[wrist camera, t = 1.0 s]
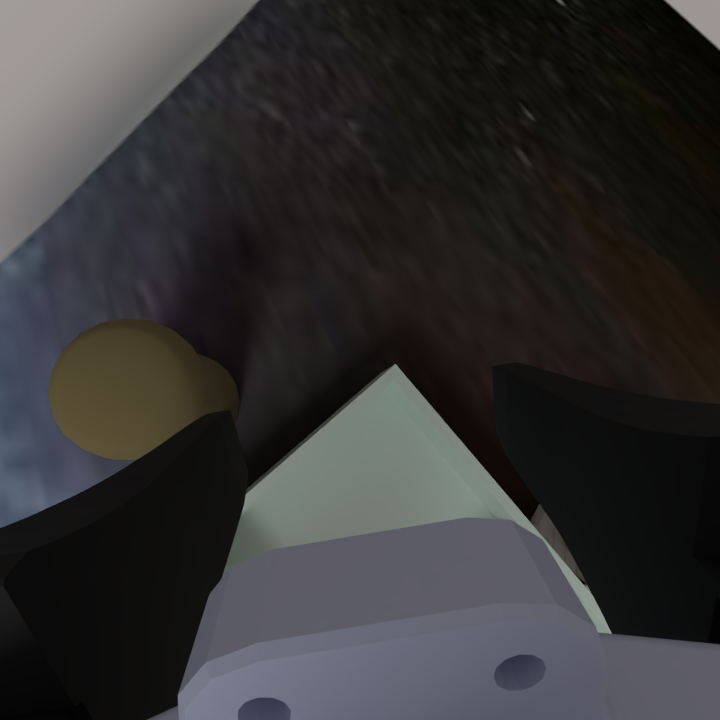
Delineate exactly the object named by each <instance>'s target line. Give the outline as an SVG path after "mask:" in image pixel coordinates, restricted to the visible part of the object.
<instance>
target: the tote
mask: <svg viewBox="0 0 720 720" xmlns="http://www.w3.org/2000/svg"><path fill="white" fill-rule="evenodd" d="M466 517H468V518H488V519H508V520H512V521H514V522H515V523H517V524H518V525H520V526H522V527H523V528H525V529H527V530H528V531H530V532H531V533H533V534H535V535H536V536H538V537H539V538H541V539H543V541H544V542H545V544H546V546H547V547H548V549H549V551H550V552H551V554H552V555H553V557H554V559H555V560H556V562H557V564H558V565H559V567H560V569H561V570H562V572H563V574H564V575H565V577H566V578H567V580H568V582H569V583H570V585H571V587H572V588H573V590H574V592H575V593H576V595H577V597H578V598H579V600H580V601H581V603H582V605H583V606H584V608H585V610H586V611H587V613H588V615H589V616H590V618H591V620H592V621H593V623H594V624H595V626H596V628H597V631H598V632H599V633H609V634H612V633H611V631H610V629H609V627H608V625H607V623H606V621H605V619H604V616H603V614H602V612H601V610H600V608H599V607H598V605H597V603H596V601H595V599H594V597H593V595H592V594H591V593H590V592H589V591H588V590H587V588H586V587H585V586H584V585H583V584H582V582H581V581H580V580H579V579H578V578H577V577H576V575H575V574H574V573H573V572H572V571H571V570H570V568H569V567H568V566H567V565H566V564H565V562H564V561H563V560H562V559H561V558H560V557H559V555H558V554H557V553H556V552H555V551H554V550H553V548H552V547H551V546H550V545H549V544H548V543H547V541H546V540H545V539H544V538H543V537H542V535H541V534H540V533H539V532H538V531H537V530H536V528H535V527H534V526H533V525H532V524H531V523H530V521H529V520H528V519H527V518H526V517H525V516H524V514H523V513H522V512H521V511H520V510H519V508H518V507H517V506H516V505H515V504H514V503H513V501H512V500H511V499H510V498H509V497H508V496H507V494H506V493H505V492H504V491H503V490H502V488H501V487H500V486H499V485H498V484H497V483H496V481H495V480H494V479H493V478H492V477H491V476H490V474H489V473H488V472H487V471H486V470H485V469H484V467H483V466H482V465H481V464H480V463H479V461H478V460H477V459H476V458H475V457H474V456H473V454H472V453H471V452H470V451H469V450H468V449H467V447H466V446H465V445H464V444H463V443H462V441H461V440H460V439H459V438H458V437H457V436H456V434H455V433H454V432H453V431H452V430H451V429H450V427H449V426H448V425H447V424H446V423H445V422H444V420H443V419H442V418H441V417H440V416H439V414H438V413H437V412H436V411H435V410H434V409H433V407H432V406H431V405H430V404H429V403H428V402H427V400H426V399H425V398H424V397H423V396H422V395H421V393H420V392H419V391H418V390H417V389H416V387H415V386H414V385H413V384H412V383H411V382H410V380H409V379H408V378H407V377H406V376H405V375H404V373H403V372H402V371H401V370H400V369H399V367H398V366H397V365H396V364H395V365H393V366H391V367H390V368H388V369H386V370H385V371H383V372H382V373H380V374H379V375H377V376H376V377H375V378H374V379H373V380H372V381H371V382H369V383H368V384H367V385H366V386H365V387H364V388H362V389H361V390H360V391H359V392H358V393H357V394H356V395H354V396H353V397H352V398H351V399H350V400H349V401H347V402H346V403H345V404H344V405H343V406H342V407H341V408H339V409H338V410H337V411H336V412H335V413H334V414H333V415H331V416H330V417H329V418H328V419H327V420H326V421H324V422H323V423H322V424H321V425H320V426H319V427H318V428H316V429H315V430H314V431H313V432H312V433H311V434H309V435H308V436H307V437H306V438H305V439H304V440H303V441H301V442H300V443H299V444H298V445H297V446H296V447H294V448H293V449H292V450H291V451H290V452H289V453H288V454H286V455H285V456H284V457H283V458H282V459H281V460H279V461H278V462H277V463H276V464H275V465H274V466H273V467H271V468H270V469H269V470H268V471H267V472H266V473H265V474H263V475H262V476H261V477H260V478H259V479H258V480H256V481H255V482H254V483H253V484H252V485H251V486H250V487H248V488H247V490H246V496H245V502H244V507H243V510H242V514H241V517H240V521H239V524H238V527H237V531H236V534H235V537H234V540H233V544H232V547H231V550H230V553H229V556H228V560H227V563H226V566H225V569H224V573H223V576H222V578H223V577H224V575H225V574H226V573H227V572H228V570H229V569H230V568H231V567H232V565H235V564H237V563H240V562H242V561H245V560H247V559H250V558H252V557H255V556H258V555H260V554H263V553H265V552H268V551H270V550H273V549H278V548H284V547H290V546H296V545H302V544H308V543H314V542H320V541H326V540H332V539H338V538H344V537H350V536H357V535H363V534H369V533H375V532H381V531H387V530H393V529H399V528H405V527H411V526H417V525H423V524H429V523H435V522H441V521H447V520H453V519H460V518H466Z"/></svg>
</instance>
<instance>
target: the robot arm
mask: <svg viewBox="0 0 720 720" xmlns="http://www.w3.org/2000/svg"><path fill="white" fill-rule="evenodd" d="M492 368H493V388H494V407H495V427H496V434H497V436H498V438H499V440H500V442H501V444H502V446H503V449H504V451H505V452H506V454H507V456H508V458H509V460H510V462H511V463H512V465H513V466H514V468H515V469H516V471H517V472H518V474H519V475H520V477H521V478H522V480H523V481H524V483H525V484H526V485H527V487H528V488H529V490H530V491H531V493H532V494H533V495H534V497H535V498H536V500H537V501H538V503H539V504H540V505H541V507H542V508H543V510H544V511H545V513H546V514H547V516H548V517H549V518H550V520H551V521H552V523H553V524H554V526H555V527H556V529H557V531H558V532H559V534H560V535H561V537H562V539H563V540H564V542H565V544H566V546H567V548H568V549H569V551H570V553H571V555H572V557H573V559H574V561H575V562H576V564H577V566H578V568H579V570H580V572H581V573H582V575H583V577H584V579H585V581H586V583H587V585H588V587H589V589H590V591H591V593H592V595H593V597H594V599H595V601H596V603H597V605H598V607H599V608H600V610H601V612H602V614H603V616H604V619H605V621H606V623H607V625H608V627H609V629H610V631H611V633H612V634H609V633H599V632H598V631H597V628H596V626H595V624H594V623H593V621H592V620H591V618H590V616H589V615H588V613H587V611H586V610H585V608H584V606H583V605H582V603H581V601H580V600H579V598H578V597H577V595H576V593H575V592H574V590H573V588H572V587H571V585H570V583H569V582H568V580H567V578H566V577H565V575H564V574H563V572H562V570H561V569H560V567H559V565H558V564H557V562H556V560H555V559H554V557H553V555H552V554H551V552H550V551H549V549H548V547H547V546H546V544H545V542H544V541H543V539H541V538H539V537H538V536H536V535H535V534H533V533H531V532H530V531H528V530H527V529H525V528H523V527H522V526H520V525H518V524H517V523H515V522H514V521H512V520H508V519H488V518H468V517H466V518H460V519H453V520H447V521H441V522H435V523H429V524H423V525H417V526H411V527H405V528H399V529H393V530H387V531H381V532H375V533H369V534H363V535H357V536H350V537H344V538H338V539H332V540H326V541H320V542H314V543H308V544H302V545H296V546H290V547H284V548H278V549H273V550H270V551H268V552H265V553H263V554H260V555H258V556H255V557H252V558H250V559H247V560H245V561H242V562H240V563H237V564H235V565H232V567H231V568H230V569H229V570H228V572H227V573H226V574H225V575H224V577H223V578H222V576H223V573H224V569H225V566H226V563H227V560H228V556H229V553H230V550H231V547H232V544H233V540H234V537H235V534H236V531H237V527H238V524H239V521H240V517H241V514H242V510H243V507H244V502H245V496H246V490H247V482H248V474H249V472H248V469H247V466H246V462H245V459H244V455H243V452H242V448H241V445H240V442H239V438H238V435H237V431H236V428H235V425H234V421H233V418H232V414H231V411H230V410H226V411H220V412H214V413H208V414H206V415H204V416H202V417H200V418H198V419H197V420H195V421H194V422H192V423H191V424H189V425H188V426H186V427H185V428H183V429H182V430H180V431H179V432H177V433H176V434H175V435H173V436H172V437H170V438H169V439H167V440H166V441H165V442H163V443H162V444H160V445H159V446H157V447H156V448H155V449H153V450H152V451H150V452H148V453H147V454H145V455H144V456H142V457H141V458H139V459H138V460H136V461H135V462H133V463H132V464H130V465H129V466H127V467H125V468H124V469H122V470H121V471H119V472H117V473H116V474H114V475H112V476H110V477H109V478H107V479H105V480H103V481H102V482H100V483H98V484H96V485H94V486H92V487H90V488H89V489H87V490H85V491H83V492H81V493H79V494H77V495H75V496H73V497H71V498H69V499H66V500H64V501H62V502H60V503H58V504H56V505H54V506H51V507H49V508H47V509H45V510H43V511H41V512H39V513H36V514H34V515H32V516H30V517H27V518H25V519H22V520H20V521H17V522H15V523H12V524H10V525H8V526H5V527H2V528H0V720H720V404H710V403H700V402H690V401H680V400H672V399H665V398H658V397H652V396H646V395H641V394H635V393H629V392H625V391H620V390H615V389H611V388H607V387H603V386H599V385H595V384H591V383H587V382H584V381H580V380H577V379H573V378H570V377H567V376H563V375H560V374H557V373H553V372H550V371H547V370H544V369H540V368H537V367H533V366H530V365H526V364H521V363H510V364H504V365H498V366H492Z"/></svg>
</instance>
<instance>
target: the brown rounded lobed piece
mask: <svg viewBox="0 0 720 720" xmlns="http://www.w3.org/2000/svg"><path fill="white" fill-rule="evenodd" d="M48 396H49V402H50V407H51V413H52V416H53V417H54V419H55V421H56V422H57V424H58V426H59V427H60V429H61V431H62V432H63V434H64V435H66V436H67V437H68V438H69V439H71V440H72V441H73V442H74V443H75V444H77V445H78V446H79V447H80V448H82V449H83V450H85V451H87V452H90V453H93V454H96V455H98V456H101V457H104V458H107V459H121V460H135V459H139V458H141V457H142V456H144V455H145V454H147V453H148V452H150V451H152V450H153V449H155V448H156V447H157V446H159V445H160V444H162V443H163V442H165V441H166V440H167V439H169V438H170V437H172V436H173V435H175V434H176V433H177V432H179V431H180V430H182V429H183V428H185V427H186V426H188V425H189V424H191V423H192V422H194V421H195V420H197V419H198V418H200V417H202V416H204V415H206V414H208V413H214V412H220V411H226V410H230V411H231V414H232V418H233V421H234V423H235V421H236V419H237V417H238V409H239V395H238V391H237V387H236V384H235V382H234V380H233V379H232V377H231V375H230V374H229V372H228V371H227V370H226V369H225V368H224V367H222V366H221V365H220V364H219V363H218V362H216V361H215V360H213V359H210V358H208V357H205V356H203V355H200V354H196V352H195V351H194V349H193V347H192V346H191V345H190V344H189V343H188V342H187V341H186V340H185V339H183V338H182V337H181V336H180V335H178V334H177V333H176V332H175V331H174V330H172V329H170V328H168V327H165V326H163V325H160V324H158V323H155V322H153V321H145V320H134V319H120V320H115V321H110V322H104V323H100V324H98V325H96V326H94V327H92V328H90V329H89V330H87V331H85V332H83V333H81V334H79V335H78V336H77V337H76V338H75V339H74V340H73V341H72V342H71V343H70V344H69V345H68V346H67V347H66V348H65V349H63V351H62V353H61V354H60V356H59V358H58V360H57V362H56V363H55V365H54V367H53V369H52V372H51V377H50V383H49V389H48Z"/></svg>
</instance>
